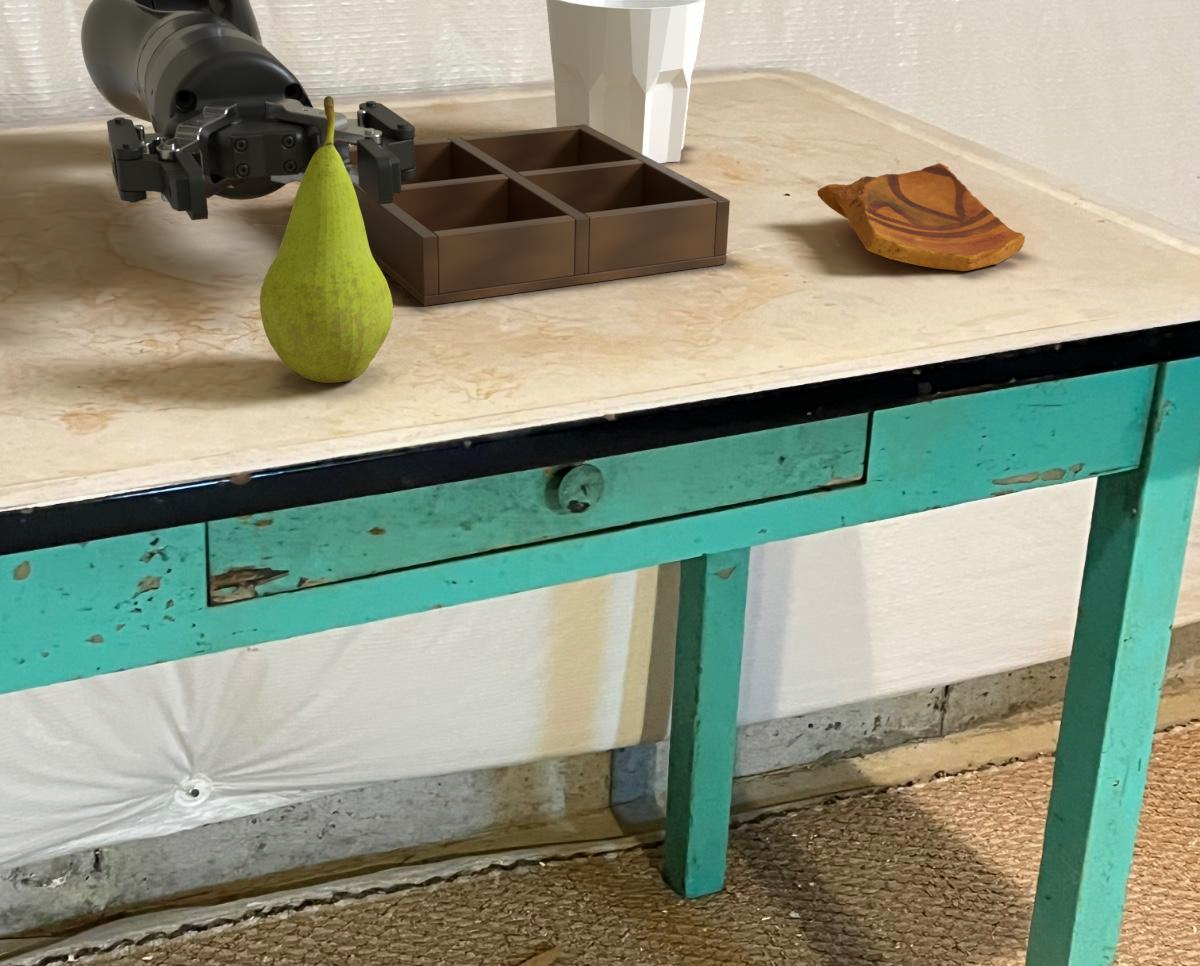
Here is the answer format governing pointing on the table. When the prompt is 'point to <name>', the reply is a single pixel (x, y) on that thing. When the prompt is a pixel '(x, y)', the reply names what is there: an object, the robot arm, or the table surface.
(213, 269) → the table surface
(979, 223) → the pottery fragment
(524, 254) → the grid
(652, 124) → the cup
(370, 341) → the fruit
